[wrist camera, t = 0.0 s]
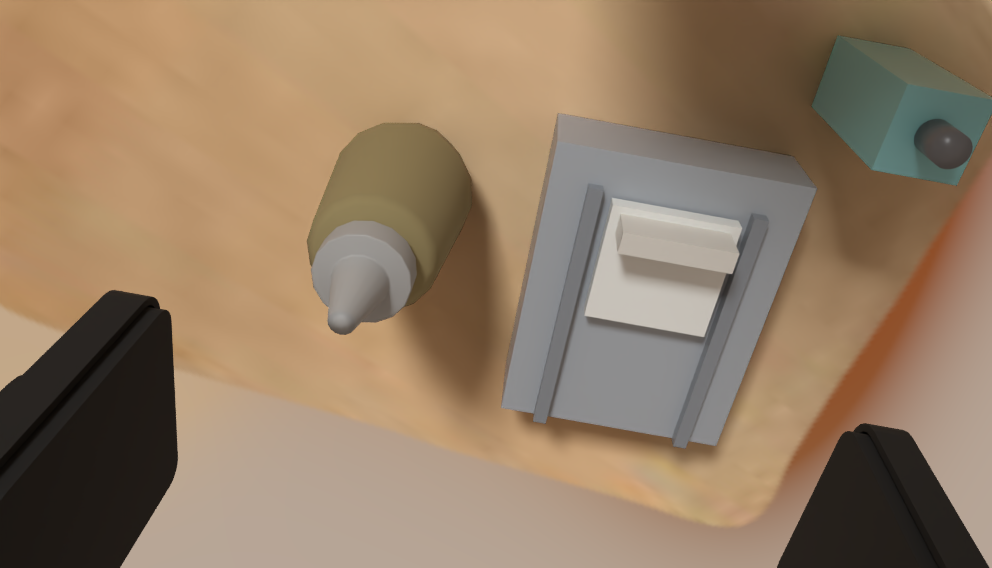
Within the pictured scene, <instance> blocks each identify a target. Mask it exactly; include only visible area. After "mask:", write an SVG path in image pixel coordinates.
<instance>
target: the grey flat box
mask: <svg viewBox="0 0 992 568" xmlns="http://www.w3.org/2000/svg"><path fill="white" fill-rule="evenodd" d="M816 191H817V188H816V186H815V185H814V184H813V182H812V181H811V180H810V178H809V177H808V175H807V174H806V173H805V171H804V170H803V169H802V167H801V166H800V165H799V163H798V162H797V161H796V159H795V158H794V157H793V156H789V155H783V154H778V153H773V152H767V151H762V150H756V149H751V148H745V147H740V146H734V145H729V144H724V143H718V142H713V141H707V140H702V139H696V138H691V137H685V136H680V135H675V134H669V133H664V132H658V131H653V130H647V129H642V128H637V127H631V126H626V125H620V124H615V123H609V122H604V121H598V120H593V119H588V118H582V117H577V116H571V115H566V114H560V113H558V116H557V120H556V125H555V130H554V135H553V140H552V144H551V149H550V154H549V159H548V164H547V168H546V173H545V178H544V183H543V188H542V192H541V197H540V202H539V207H538V212H537V216H536V221H535V226H534V231H533V236H532V240H531V245H530V250H529V255H528V260H527V264H526V269H525V274H524V279H523V284H522V288H521V293H520V298H519V303H518V308H517V312H516V317H515V322H514V327H513V332H512V336H511V341H510V346H509V351H508V356H507V360H506V367H505V376H504V386H503V395H502V404H501V408H505V409H511V410H516V411H522V412H528V413H533V422H539V423H544V424H546V420H547V416H550V417H556V418H561V419H567V420H573V421H578V422H584V423H590V424H595V425H601V426H606V427H612V428H618V429H623V430H629V431H635V432H640V433H646V434H651V435H657V436H663V437H668V438H672V443H673V446H674V447H680V448H685V449H686V446H687V443H688V441H691V442H697V443H702V444H708V445H713V446H716V445H717V442H718V440H719V437H720V435H721V432H722V430H723V427H724V424H725V422H726V419H727V417H728V414H729V412H730V409H731V407H732V404H733V402H734V399H735V396H736V394H737V391H738V389H739V386H740V384H741V381H742V379H743V376H744V374H745V371H746V369H747V366H748V363H749V361H750V358H751V356H752V353H753V351H754V348H755V346H756V343H757V341H758V338H759V336H760V333H761V330H762V328H763V325H764V323H765V320H766V318H767V315H768V313H769V310H770V308H771V305H772V302H773V300H774V297H775V295H776V292H777V290H778V287H779V285H780V282H781V280H782V277H783V275H784V272H785V269H786V267H787V264H788V262H789V259H790V257H791V254H792V252H793V249H794V247H795V244H796V241H797V239H798V236H799V234H800V231H801V229H802V226H803V224H804V221H805V219H806V216H807V214H808V211H809V208H810V206H811V203H812V201H813V198H814V196H815V193H816ZM612 198H617V199H622V200H628V201H633V202H639V203H644V204H650V205H655V206H661V207H666V208H672V209H677V210H683V211H688V212H693V213H699V214H704V215H710V216H715V217H721V218H726V219H732V220H737V221H739V223H740V225H741V227H742V231H741V234H740V236H739V239H738V242H737V245H736V247H737V249H738V251H739V257H738V259H737V262H736V265H735V268H734V271H733V273H732V274H728V273H726V276H725V279H724V282H723V285H722V287H721V290H720V293H719V296H718V299H717V302H716V304H715V307H714V310H713V313H712V316H711V319H710V321H709V324H708V327H707V330H706V333H705V336H704V337H700V336H695V335H689V334H684V333H678V332H673V331H667V330H662V329H656V328H650V327H645V326H639V325H634V324H628V323H623V322H617V321H611V320H606V319H600V318H595V317H589V316H584V304H585V300H586V297H587V293H588V289H589V285H590V281H591V277H592V273H593V269H594V265H595V262H596V258H597V254H598V250H599V246H600V242H601V238H602V234H603V230H604V226H605V223H606V219H607V215H608V211H609V207H610V203H611V199H612Z"/></svg>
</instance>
